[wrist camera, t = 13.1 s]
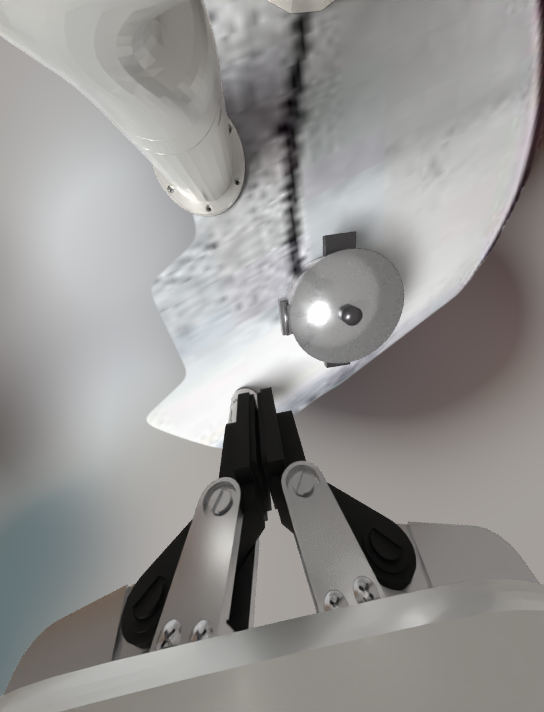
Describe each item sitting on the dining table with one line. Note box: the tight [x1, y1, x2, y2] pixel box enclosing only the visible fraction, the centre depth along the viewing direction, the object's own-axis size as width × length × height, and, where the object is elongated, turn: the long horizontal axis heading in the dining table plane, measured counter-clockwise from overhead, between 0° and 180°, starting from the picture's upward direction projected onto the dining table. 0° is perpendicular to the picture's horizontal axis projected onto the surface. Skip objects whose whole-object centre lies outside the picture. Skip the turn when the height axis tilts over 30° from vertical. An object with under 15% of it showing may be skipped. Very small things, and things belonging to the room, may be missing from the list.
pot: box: [278, 231, 356, 368], centre depth 35 cm, size 21×18×8 cm
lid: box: [282, 249, 404, 363], centre depth 30 cm, size 17×18×4 cm
